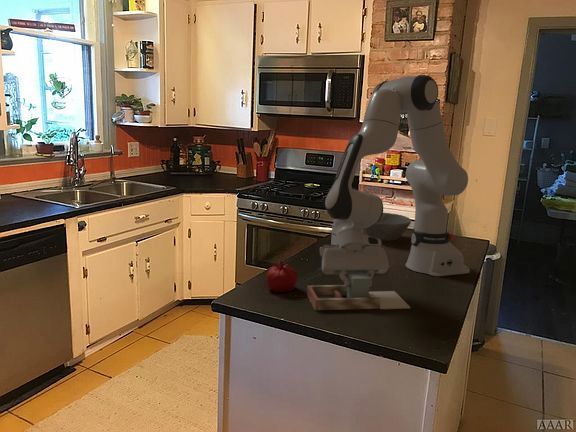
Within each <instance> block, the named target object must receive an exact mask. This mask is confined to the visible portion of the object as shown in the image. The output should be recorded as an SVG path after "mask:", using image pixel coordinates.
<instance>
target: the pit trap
mask: <svg viewBox="0 0 576 432" xmlns="http://www.w3.org/2000/svg"><path fill="white" fill-rule="evenodd" d="M311 285H312V284H311ZM311 285H310V284H309V285H308V284H307V286H306V289H307V290H306V295H307V297H308V300H309V302H310V303H311V305H312V307H313V309H314V311H320V310H319V299H318V298H343V296H341V295H340V294H339V292H338V291H337V290H333V295H316V294H315V292H314V290H313V289H312V287H311Z"/></svg>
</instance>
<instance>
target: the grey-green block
mask: <svg viewBox="0 0 576 432" xmlns="http://www.w3.org/2000/svg"><path fill="white" fill-rule="evenodd" d="M369 277H370V276H368V275H367V274H365V273H348V274H347V279H350V280H351V286H350V287H347V296H346V298H360V297H370V296H369V292H370V287H369V285H370V278H369Z"/></svg>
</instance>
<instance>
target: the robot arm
mask: <svg viewBox="0 0 576 432" xmlns="http://www.w3.org/2000/svg"><path fill="white" fill-rule="evenodd" d="M438 98H439V86H438V83H437V81H435V79H434V78H433V77H432V76H430V75H424V74H419V75H417V76H416V75H413V76H412V75H411V76H404V77H403V76H402V77H400V78H399V77H398V78H396V79H391V80H385V81H382V82H380V83H378V84H376V86H375V87H374V89H373V91H372V93H371V96H370V99H369V101H368V103H367V106H366V109H365V112H364V115H363V120H362V124H361V127H360V130H359V131H358V133H357V134H355V135H353V136H352V137H351V138H350V139H349V141H348V142H347V145H346V147H345V149H344V152H343V155H342V157H341V159H340V164H339V165H338V169H337V170H336V174H335V177H334V179H333V182H332V184H331V186H330V187H329V190H328V192H327V193H326V196H325V199H324V209H325V210H326V213H327V214H328V215H329V217H330V218H331V219H332V221H333V224H334V227H335V230H336V241H337V245H331V244H323V245H322V246H320V247H319V256H320V258H321V271H322V273H323V274H324V275H339V278H340V279H341V280H342V282H343V283H344V284H343V285H345V287H350V286H351V280H350V279H348V277H347V276H346V275H348V273H365V274H366V275H367V276H368V277H369V278H370V285H369V288H370V287H372V286H373V281H372V280H373V277H374V274H385V273H386V272H387V271H388V270H389V268H390V263H389V260H388V259H389V258H388V256H387V253H386V250H385V249H384V248H383V247H382V242H381V240H380V239H378V238H374V237H371V236H369V235H368V234H365V232H364V231H365V228H368V227H370V226H372V225H374V224H375V223H377V222H378V221H379V220H380V219H381V217H382V215H383V213H384V203H383V200H382V199H381V197H380V196H378V195H376V194H373V193H370V192H367V191H362V190H358V189H355V188H353V187H352V183H353V181H354V178H355V175H356V173H357V169H358V167H359V164H360V163H361V160H362V159H364V158H365V157H366V156H367V157H368V156H373V155H379V154H383V153H386V152H388V151H389V150H391V149H392V148H393V147H394V145H395V143H396V141H397V139H398V133H399V128H400V123H401V114H406V116H407V117H406V118H407V124H408V125H407V126H408V130H409V134H410V135H409V136H410V140H411V145H412V149H413V151H414V153H416V154H417V156H418V157H419V158H420V159H417V160H414V161H412V162H410V163H409V165H408V166H407V168H406V171H405V178H406V181H407V183H408V184H409V185H410V188H411V191H412V195H413V199H414V206H415V214H414V224H413V225H414V227H413V228H412V232H411V241H410V243H411V246H410V250H409V255H408V258H407V260H406V263H405V267H406V268H407V269H409V270H412V271H413V272H418V273H421V274H427V275H430V276H434V277H445V276H453V275H464V274H470V273H471V270H470V268H469V267H468V266H467V265H466V264H465V261H464V254H463V253H462V252H461V251H460V250H459V249H458V248H457V247H455V246H454V244H452V242H450V240H451V241H454V240H455V239H456V238H457V237H456V235H455V234H453V233H449V232H448V231H447V226H448V224H447V223H448V217H449V211H448V208H447V206H446V205H445V204H444V202H443V199H442V196H446V197H449V196H451V197H452V196H459V195H461V194H462V193H464V191H465V190H466V188H467V187H468V184H469V175H468V172H467V171H466V169H464V168H463V167H462V166H461V165H460V163H459V162H458V161H457V160H456V158H455V156H454V154H453V153H452V150H451V149H450V147H449V144H448V142H447V141H448V140H447V136H446V132H445V128H444V127H445V126H444V123H443V117H442V112H441V109H440V106H439V102H438Z"/></svg>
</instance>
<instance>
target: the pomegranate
mask: <svg viewBox="0 0 576 432" xmlns="http://www.w3.org/2000/svg"><path fill="white" fill-rule="evenodd" d="M283 262H284V260H279V263H278V264H279V266H278V265H277V264H271V266H272V267H271V268H269V269H268V270H267V272H266V274H265V281H266V285H267V288H268V289H269V290H270V291H271V292H275V293H287V292H288V293H289V292H291V291H293V290H294V289H295V288H296V286H297V284H298V282H299V273H298V272H297V270H296V269H295V268H294V267H293V266H291V265H290V263H286V264H285V265H283V264H284V263H283ZM288 265H290V266H288Z"/></svg>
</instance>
